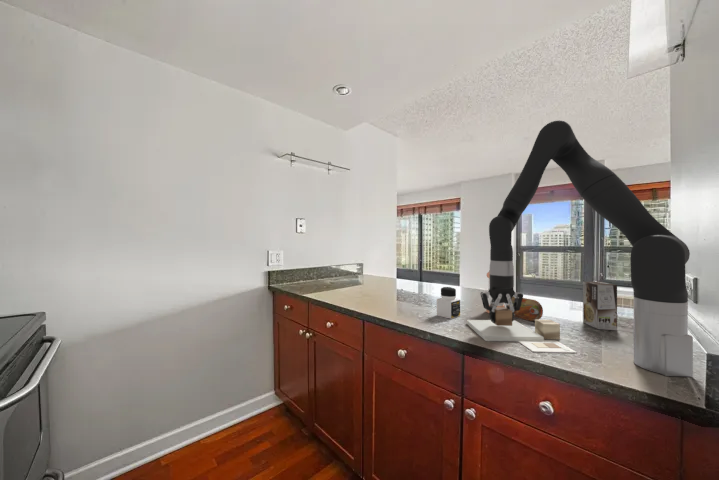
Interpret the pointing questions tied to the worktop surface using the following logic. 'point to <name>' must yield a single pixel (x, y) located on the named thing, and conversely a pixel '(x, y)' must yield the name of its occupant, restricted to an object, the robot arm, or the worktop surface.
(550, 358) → the worktop surface
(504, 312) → the walnut block
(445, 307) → the medicine bottle
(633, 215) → the robot arm
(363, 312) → the worktop surface
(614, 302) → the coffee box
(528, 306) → the tin
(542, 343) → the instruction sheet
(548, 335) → the birch block
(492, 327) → the base plate
